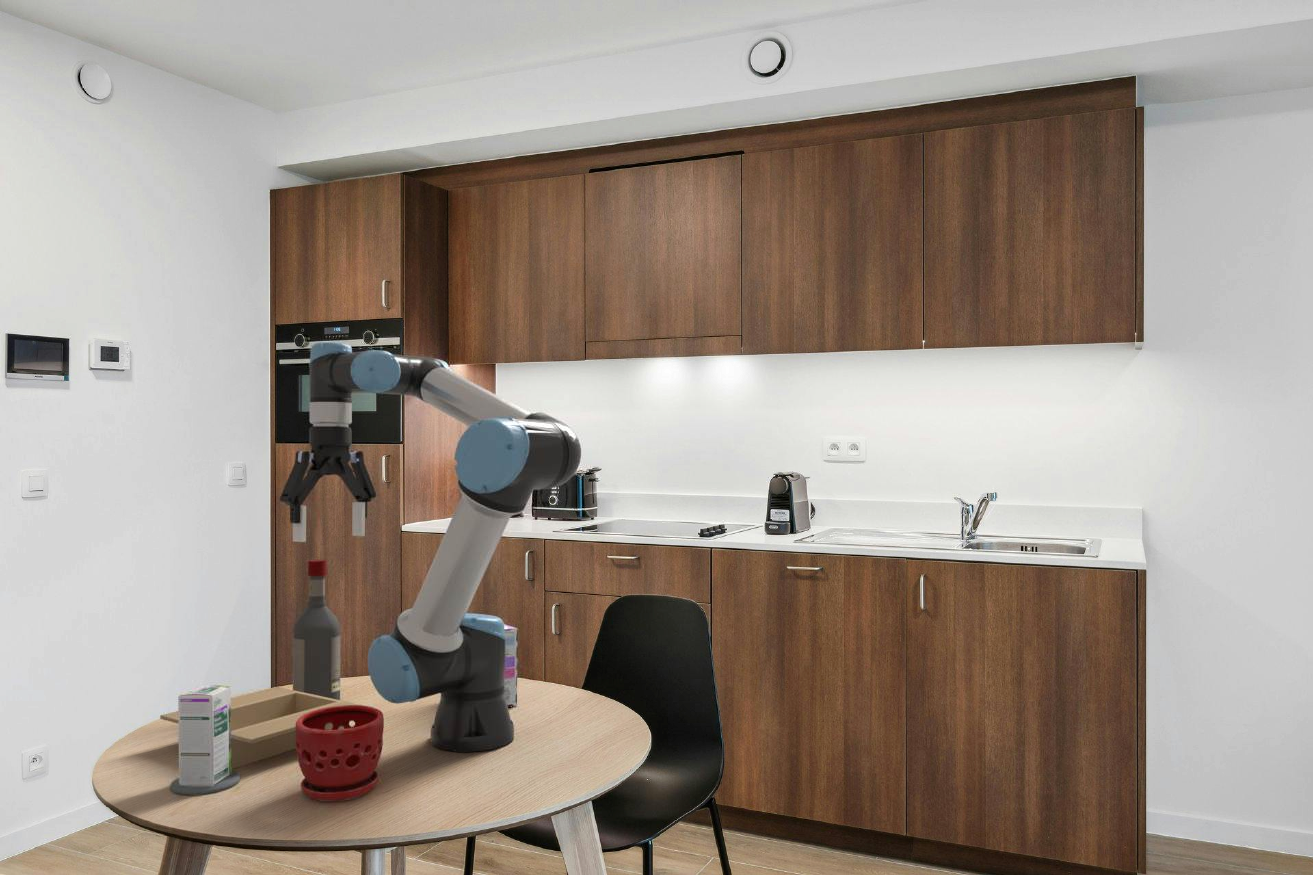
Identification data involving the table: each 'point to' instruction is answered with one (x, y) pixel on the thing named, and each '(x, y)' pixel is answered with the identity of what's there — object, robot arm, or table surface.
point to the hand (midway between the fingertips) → (329, 538)
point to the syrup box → (204, 735)
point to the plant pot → (339, 751)
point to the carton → (268, 722)
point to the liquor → (317, 641)
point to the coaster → (196, 790)
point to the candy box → (511, 665)
